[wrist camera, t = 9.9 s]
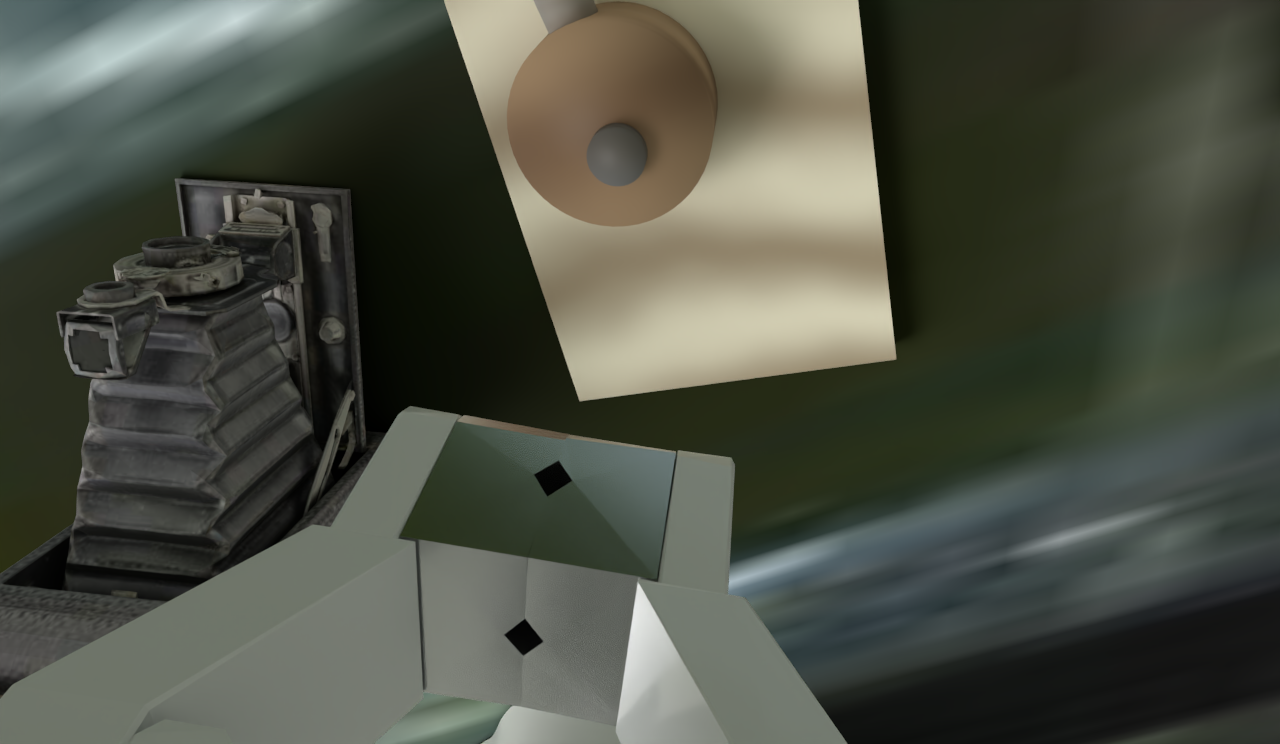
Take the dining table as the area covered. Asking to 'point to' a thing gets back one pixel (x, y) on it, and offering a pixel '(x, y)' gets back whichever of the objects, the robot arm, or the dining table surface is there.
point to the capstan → (612, 112)
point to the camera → (200, 412)
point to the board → (717, 209)
